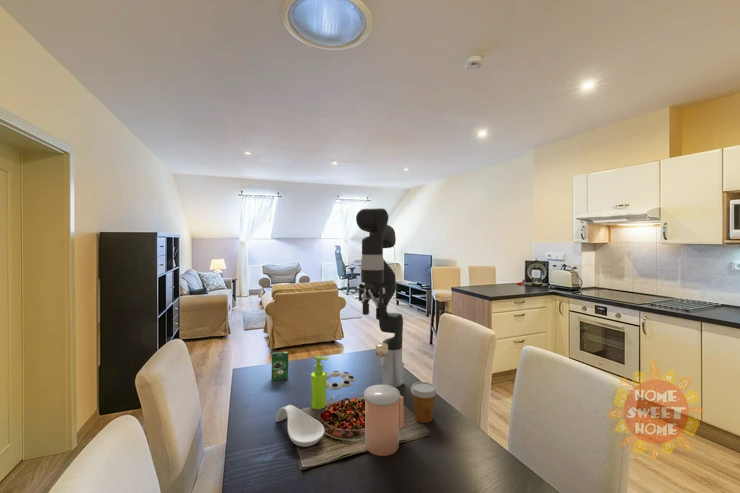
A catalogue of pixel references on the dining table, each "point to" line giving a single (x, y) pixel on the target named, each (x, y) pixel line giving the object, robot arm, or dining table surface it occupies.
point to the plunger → (381, 352)
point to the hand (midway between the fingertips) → (372, 316)
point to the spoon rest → (301, 426)
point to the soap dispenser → (318, 385)
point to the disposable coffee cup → (423, 401)
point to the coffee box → (279, 366)
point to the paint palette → (342, 375)
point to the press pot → (383, 419)
